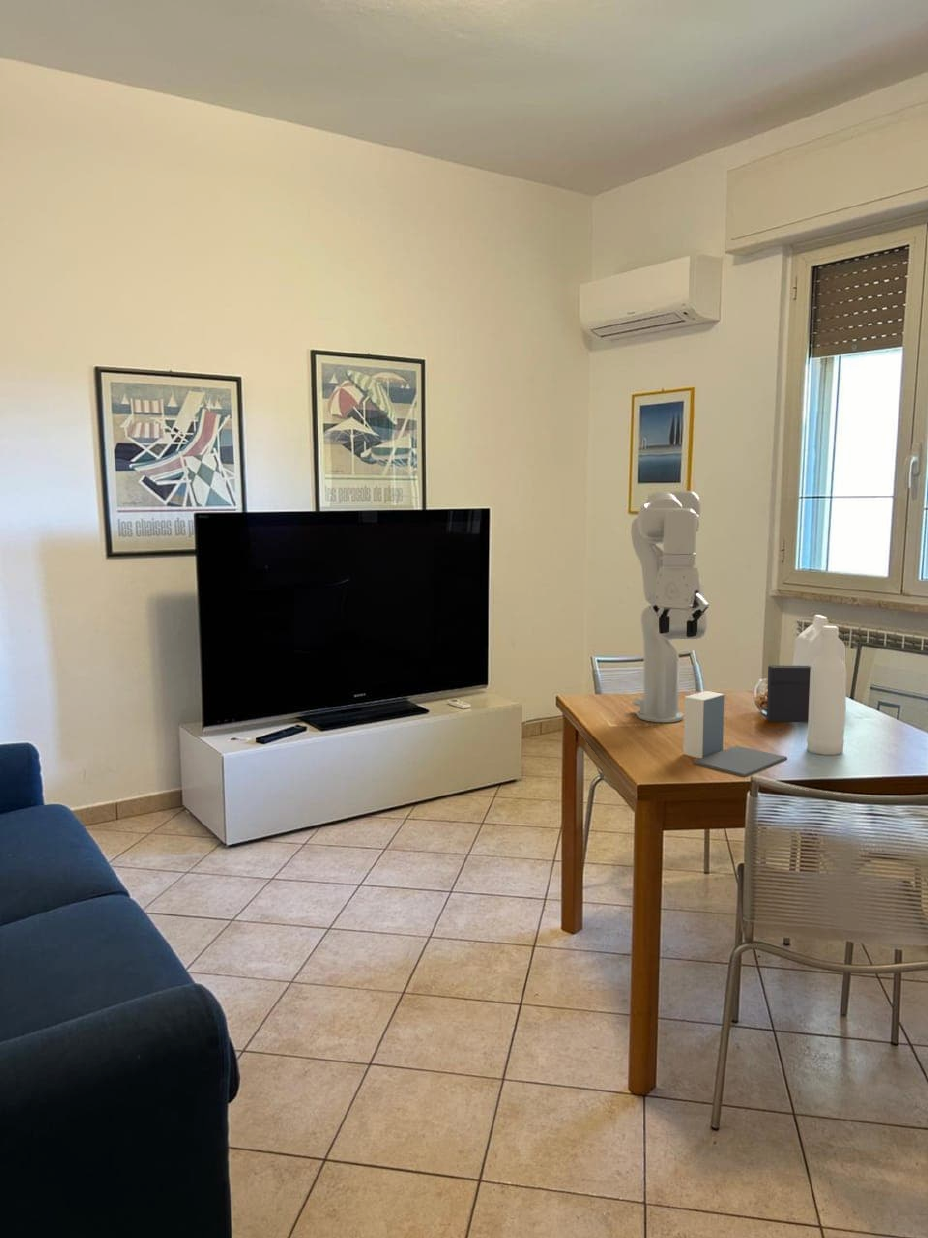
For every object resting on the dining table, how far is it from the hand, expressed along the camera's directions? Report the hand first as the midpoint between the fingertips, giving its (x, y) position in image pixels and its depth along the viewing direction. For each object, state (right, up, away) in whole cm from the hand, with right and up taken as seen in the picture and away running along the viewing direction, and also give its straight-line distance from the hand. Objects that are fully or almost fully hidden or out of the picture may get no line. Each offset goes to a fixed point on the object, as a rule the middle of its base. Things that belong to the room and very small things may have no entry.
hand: (677, 634), depth 206 cm
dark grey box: (+37, -24, +26) cm, 51 cm away
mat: (+12, -29, -10) cm, 33 cm away
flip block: (+6, -28, -2) cm, 29 cm away
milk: (+52, -22, +43) cm, 71 cm away
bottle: (+35, -28, -2) cm, 45 cm away
